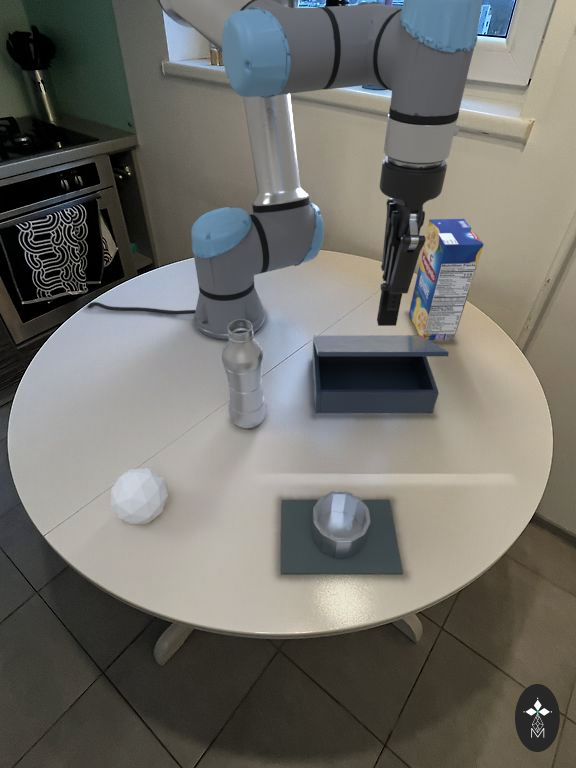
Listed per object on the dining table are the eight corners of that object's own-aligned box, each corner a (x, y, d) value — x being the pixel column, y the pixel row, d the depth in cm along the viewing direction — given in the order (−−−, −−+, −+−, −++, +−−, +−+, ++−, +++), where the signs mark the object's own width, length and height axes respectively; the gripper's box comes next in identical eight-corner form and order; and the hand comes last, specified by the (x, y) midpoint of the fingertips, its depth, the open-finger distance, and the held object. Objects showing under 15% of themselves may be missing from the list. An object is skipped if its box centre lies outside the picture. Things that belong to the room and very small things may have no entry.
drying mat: (280, 574, 59) (280, 572, 59) (281, 501, 67) (281, 499, 67) (402, 574, 59) (403, 572, 59) (389, 501, 67) (389, 499, 67)
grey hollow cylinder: (313, 560, 60) (314, 541, 57) (311, 510, 66) (312, 491, 62) (368, 560, 60) (373, 541, 57) (362, 510, 66) (366, 491, 62)
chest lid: (448, 356, 71) (448, 351, 71) (318, 356, 71) (318, 351, 71) (420, 339, 86) (421, 335, 86) (313, 339, 86) (313, 335, 86)
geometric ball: (135, 519, 68) (99, 482, 65) (178, 486, 69) (145, 448, 66) (133, 547, 61) (93, 506, 58) (181, 510, 62) (144, 468, 59)
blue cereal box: (420, 343, 95) (445, 245, 80) (408, 313, 103) (429, 219, 88) (453, 342, 95) (483, 244, 80) (438, 313, 103) (464, 218, 88)
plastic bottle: (272, 410, 81) (269, 317, 67) (258, 437, 76) (251, 344, 63) (239, 401, 82) (229, 309, 69) (223, 428, 78) (209, 335, 64)
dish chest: (431, 416, 80) (439, 392, 76) (315, 416, 80) (316, 392, 76) (414, 362, 90) (420, 339, 86) (311, 362, 90) (313, 339, 87)
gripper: (463, 177, 48) (419, 349, 65) (434, 141, 58) (403, 299, 74) (393, 177, 48) (367, 349, 65) (375, 142, 58) (357, 299, 74)
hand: (386, 322), depth 69 cm, fingers closed
